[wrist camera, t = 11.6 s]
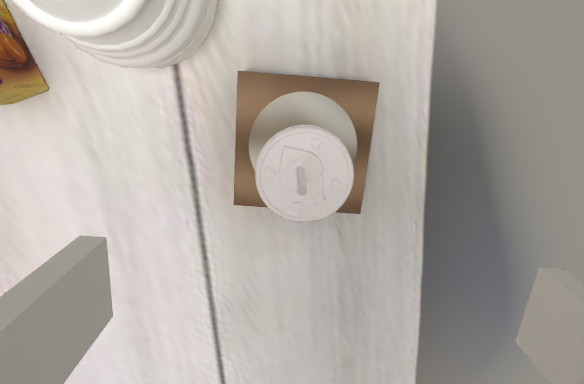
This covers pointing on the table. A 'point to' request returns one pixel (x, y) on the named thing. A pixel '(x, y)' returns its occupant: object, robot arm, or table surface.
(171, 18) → the honey pot
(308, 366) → the table surface
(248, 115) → the pedestal
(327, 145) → the smoothie
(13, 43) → the candy box
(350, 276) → the table surface
